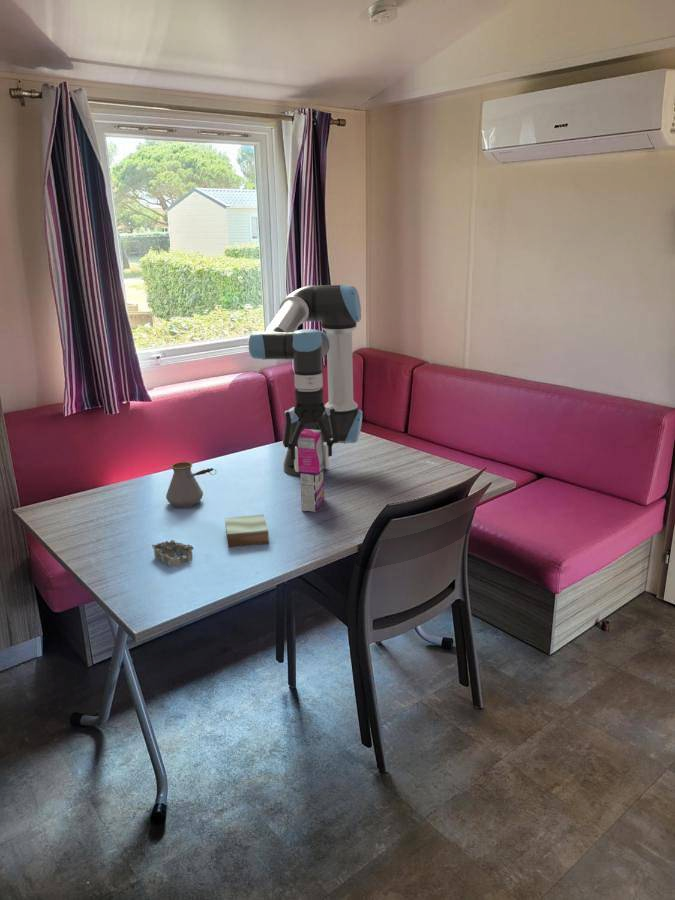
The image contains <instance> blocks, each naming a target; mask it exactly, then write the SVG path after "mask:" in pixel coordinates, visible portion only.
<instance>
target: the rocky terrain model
mask: <svg viewBox="0 0 675 900" xmlns="http://www.w3.org/2000/svg"><path fill="white" fill-rule="evenodd" d="M151 547H152V549H153V552H154V559H155V560H158V559H161V563H163V564H165V563H168V567H170V568H172V567H173V568H174V567H177V568H179V567H181V564H182V563H191V562H192V559H193V550H194V546H192V545H190V544H185V543H184V544H183V543H181V542H176V541H175V540H173V539H171V540H170V541H168V540H165V542H164V541H163V542H161V543H160V542H158V543H157V544H151ZM175 549H176V553H175ZM178 553H179V554H180V553H182V555H181V554H180V556H179V557H175V555H176V554H178ZM190 561H191V562H190Z"/></svg>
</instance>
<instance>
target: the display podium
mask: <svg viewBox="0 0 675 900" xmlns="http://www.w3.org/2000/svg"><path fill="white" fill-rule="evenodd" d="M224 521H225V532H226V534H227V535H226V534H225V535H226V541H227V548H228V547H230V548H238V547H237V546H239V547H247V545H248V546H256V545H257V546H258V545H265V544H266V545H267V544H269V529H268V525H267V522H266V519H265V515H264V514H253V515H245V516H243V515H241V516H232V517H225V518H224Z"/></svg>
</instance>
